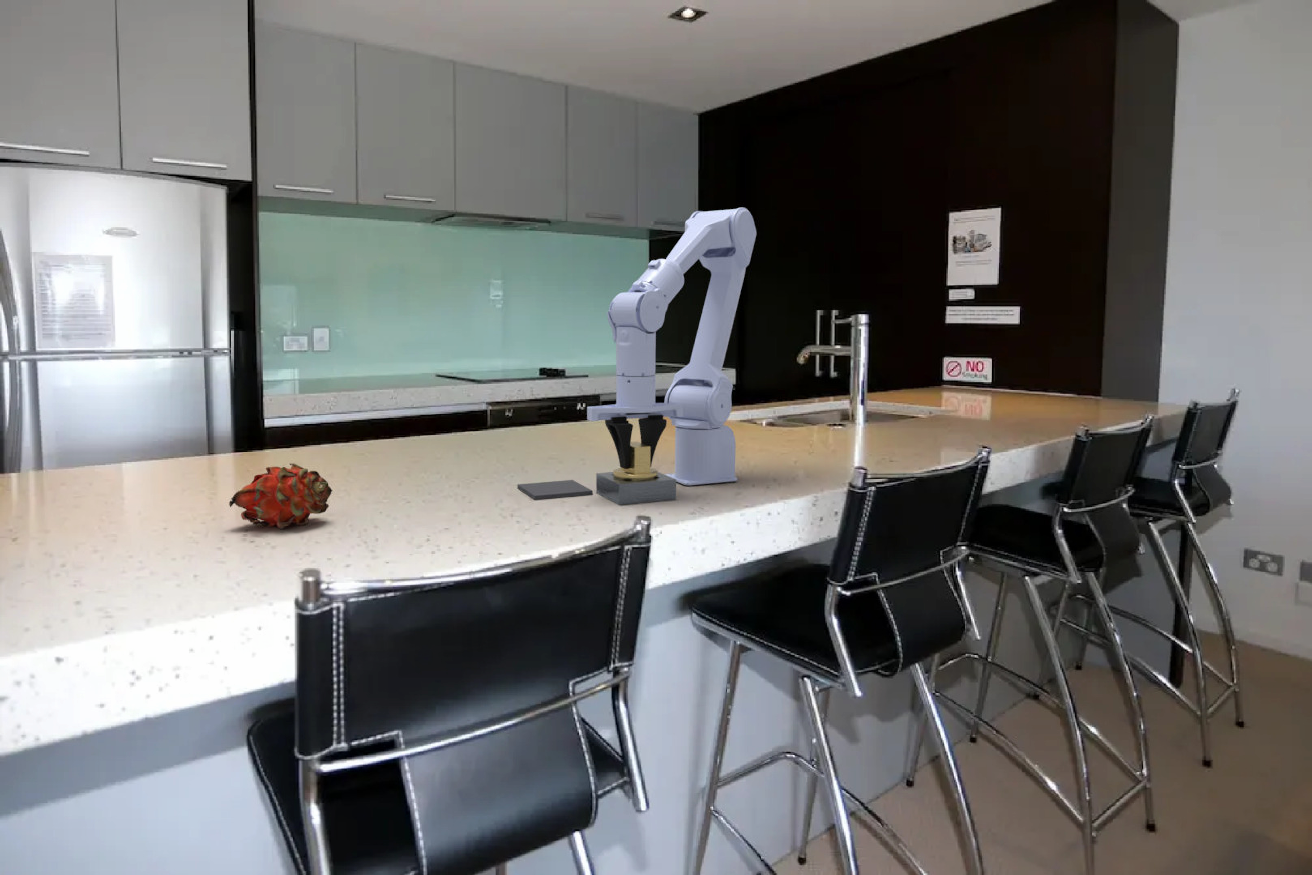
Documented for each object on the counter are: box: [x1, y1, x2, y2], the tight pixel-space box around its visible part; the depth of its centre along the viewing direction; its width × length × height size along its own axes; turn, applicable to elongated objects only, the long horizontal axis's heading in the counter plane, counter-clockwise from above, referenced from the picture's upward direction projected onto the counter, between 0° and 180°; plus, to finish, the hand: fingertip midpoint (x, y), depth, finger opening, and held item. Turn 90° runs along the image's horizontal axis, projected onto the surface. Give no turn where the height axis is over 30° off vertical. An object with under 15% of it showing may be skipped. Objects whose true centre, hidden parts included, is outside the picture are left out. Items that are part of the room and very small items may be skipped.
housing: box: [595, 471, 677, 506], centre depth 125 cm, size 9×9×3 cm
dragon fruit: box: [228, 462, 333, 530], centre depth 107 cm, size 8×8×12 cm
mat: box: [517, 479, 594, 501], centre depth 129 cm, size 9×9×1 cm
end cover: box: [612, 441, 659, 481], centre depth 125 cm, size 7×7×8 cm
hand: (635, 467), depth 125 cm, fingers open, 3 cm apart
